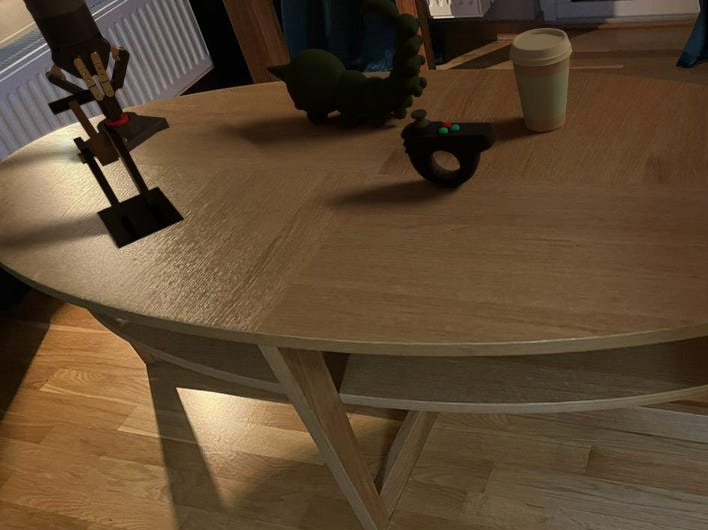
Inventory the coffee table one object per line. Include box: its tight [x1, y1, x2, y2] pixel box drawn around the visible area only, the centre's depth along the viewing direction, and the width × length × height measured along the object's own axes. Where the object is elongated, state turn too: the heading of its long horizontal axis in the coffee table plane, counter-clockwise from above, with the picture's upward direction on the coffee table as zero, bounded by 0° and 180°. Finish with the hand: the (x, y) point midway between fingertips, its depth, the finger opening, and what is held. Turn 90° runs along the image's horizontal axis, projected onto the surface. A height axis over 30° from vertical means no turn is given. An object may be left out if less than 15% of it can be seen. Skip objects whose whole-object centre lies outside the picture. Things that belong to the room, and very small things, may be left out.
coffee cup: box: [508, 27, 573, 133], centre depth 98 cm, size 8×8×12 cm
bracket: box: [72, 125, 185, 249], centre depth 93 cm, size 12×9×13 cm
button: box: [105, 114, 129, 127], centre depth 114 cm, size 4×4×2 cm
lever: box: [47, 88, 120, 167], centre depth 92 cm, size 13×6×2 cm, turn 36°
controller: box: [400, 108, 498, 188], centre depth 90 cm, size 4×12×10 cm, turn 76°
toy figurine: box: [266, 0, 428, 128], centre depth 105 cm, size 9×19×25 cm
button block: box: [84, 111, 171, 158], centre depth 115 cm, size 11×9×4 cm
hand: (116, 118), depth 113 cm, fingers closed
